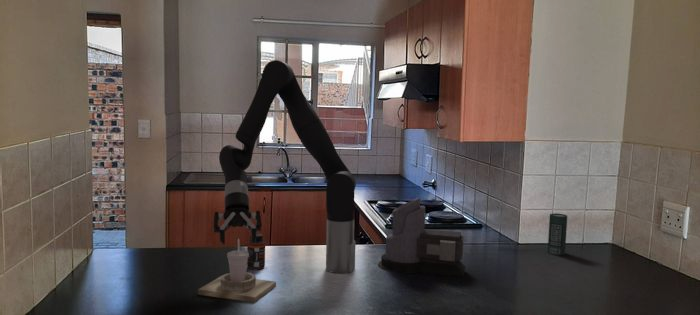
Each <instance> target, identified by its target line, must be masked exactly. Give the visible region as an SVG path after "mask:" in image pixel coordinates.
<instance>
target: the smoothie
mask: <svg viewBox="0 0 700 315" xmlns="http://www.w3.org/2000/svg"><path fill="white" fill-rule="evenodd" d="M240 246H241V245H240V238H238V239H237V249H236V250H232V251H229V252H227V254H226V258H227V260H228V267H229V273H230V277H231V281H233V282H240V281H245V276H246V272H247V268H248V267H247V261H248V257H249V252H247V250H241V249H240V248H241V247H240Z"/></svg>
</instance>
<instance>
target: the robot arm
mask: <svg viewBox="0 0 700 315" xmlns="http://www.w3.org/2000/svg"><path fill="white" fill-rule="evenodd" d="M277 96H279V98H280V100H282V102H283V104H284V106H285V108H286V111H287V113H288V117H289V120H290V122H291V126H292V128H293V130H294V132H295V134H296V135H297V137H298V139H299V140H300V142H301V144H302V145H303V147H304V149H306V151H307V152H308V153H309V154H310V156H311V157H312V158H314V160H315V161H316V162H317V164H318V165H319V166H320V168H321V170H322V171H323V174H324V176H325V178H326V180H327V181H326V186H325V187H326V188H325V189H326V190H325V192H326V193H325V203H326V205H325V208H326V209H325V210H326V242H325V243H326V245H325V246H326V247H325V271H327V272H329V273H333V274H334V273H335V274H351V273H352V272H353V271H354V269H355V268H356V240H355V190H356V186H357V183H356V178H355V177H354V175H353V173H352V172H351V171H350V170H349V168H348V167H347V165H346V164H345V163H344V161H343V160H342V159H341V157H340V155H339V154H338V151H337V149H336V147H335V146H334V143H333V141H332V139H331V137H330V135H329V133H328V131H327V129H326V127H325V125H324V123H323V122H322V120H321V118H320V116H319V115H318V113H317V112H316V110H315V109H314V107H313V106H312V104H311V103H310V101H309V100H308V99H307V97H306V96H305V94H304V93H303V91H302V88H301V86H300V83H299V82H298V80H297V78H296V75H295V72H294V70H293V68H292V67H291V66H290V64H288V63H287V62H284V61H283V60H278V59H275V60H271V61H269V62H268V63H266V64H265V65H264V67H263V70H262V73H261V76H260V79H259V83H258V86H257V88H256V91H255V94H254V97H253V99H252V100H251V103H250V105H249V108H248V109H247V110H246V113H245V115H244V117H243V119H242V121H241V122H240V125H239V127H238V129H237V131H236V132H235V139H236V140H237V141H238V142H240V143H241V144H242V145H243V148H239V147H236V146H234V145H230V144H227V145H225V146H223V147H222V148H221V150H220V152H219V156H218V160H219V165H220V168H221V171H222V173H223V176H224V185H225V186H224V196H223V198H224V212H223V213H219V211H215V212H214V215H213V216H214V218H213V233H218V234H219V242H220V243H222V244H221V245H225V244H226V242H225V240H226V236H225V235H226V233H225V232H226V231H229V230H228V229H230V227H232V228H235V227H242V228H243V226H244V227H245V228H246V229H248V230H249V231H250V235H251V239H250V240H251V243H254V241H256V234H257V232H260V231H262V223H263V222H262V218H261V211H260V210H256V211H255V212H251V210H250V196H249V189H248V174H247V173H246V170H247V169H248V168H249V167H250V165H251V163H252V160H253V159H252V158H253V154H254V149H255V144H256V142H257V140H258V138H259V136H260V135H261V132H262V130H263V128H264V126H265V123H266V120H267V118H268V115H269V112H270V109H271V106H272V105H273V103H274V100H275V98H276V97H277ZM251 218H253V220H255V221H256V222H255V223H256V225H255V224H254V223H253V221H252V220H251ZM222 219H224V222H223V224H222V225H221V226H219V222H220V221H221V220H222Z"/></svg>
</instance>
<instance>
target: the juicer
mask: <svg viewBox="0 0 700 315" xmlns="http://www.w3.org/2000/svg"><path fill="white" fill-rule="evenodd" d="M391 215H392V231H391V233H388V234H387V236H386V237H385V253H384V254H382V255H381V261H379V262H378V263H377V266H378V268H379V269H381V270H384V271H392V272H395V273H404V274H413V273H422V274H432V275H439V276H440V275H442V276H453V277H461V278H464V277H465V272H466V266H465V264H464V263H463V262H462V259H463V255H464V254H463V252H464V236H463V235H462V231H452V230H440V229H439V230H438V229H428V228H425V226H426V206H425V205H421V197H416V198H414V199H411V200H410V201H408V202H406V203H403V204H402V205H400V206H398V207H396V208H394V209H393V210H392V212H391Z"/></svg>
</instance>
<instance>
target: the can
mask: <svg viewBox="0 0 700 315" xmlns="http://www.w3.org/2000/svg"><path fill="white" fill-rule="evenodd" d="M548 223H549V225H548V239H547V253H548V254H551V255H556V256H563V255H565V254H566V244H567V228H568V215H567V214H563V213H550V214H549V222H548Z"/></svg>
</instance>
